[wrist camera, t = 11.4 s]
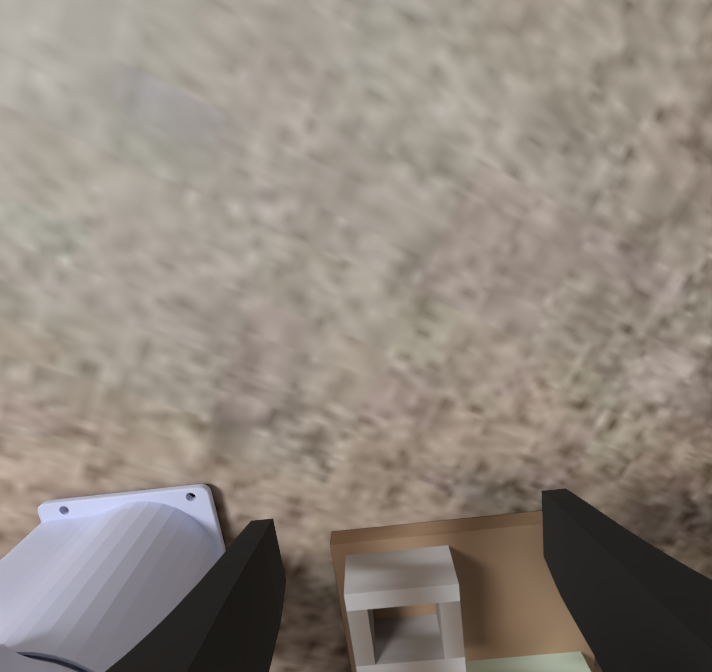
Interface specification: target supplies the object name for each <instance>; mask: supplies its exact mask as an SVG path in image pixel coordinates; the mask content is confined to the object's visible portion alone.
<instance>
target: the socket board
mask: <svg viewBox="0 0 712 672" xmlns="http://www.w3.org/2000/svg"><path fill="white" fill-rule="evenodd" d="M330 548H331V554H332V559H333V565H334V571H335V577H336V583H337V588H338V594H339V600H340V606H341V612H342V618H343V623H344V629H345V635H346V641H347V647H348V653H349V658H350V664H351V670H352V672H595V656H594V654H593V652H592V651H591V649H590V647H589V645H588V644H587V642H586V640H585V639H584V637H583V635H582V633H581V632H580V630H579V628H578V626H577V624H576V623H575V621H574V619H573V617H572V616H571V614H570V612H569V610H568V609H567V607H566V605H565V603H564V601H563V600H562V598H561V596H560V594H559V591H558V589H557V587H556V585H555V582H554V580H553V578H552V575H551V573H550V571H549V568H548V566H547V563H546V561H545V559H544V556H543V516H542V511H533V512H523V513H513V514H503V515H494V516H484V517H474V518H464V519H454V520H444V521H434V522H424V523H414V524H404V525H394V526H384V527H374V528H364V529H354V530H344V531H335V532H331V540H330Z"/></svg>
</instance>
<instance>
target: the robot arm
mask: <svg viewBox="0 0 712 672" xmlns="http://www.w3.org/2000/svg"><path fill="white" fill-rule="evenodd" d="M189 493H193V494H194V495H195V496H196V497H192V496H191V495H190V494H189ZM65 507H67V508H68V509H69V510H68V509H66V508H65ZM38 514H39V517H40V519H41V522H42V523H40V524H39V525H38V526H37V527H36V528H35V529H34V530H33V531H32V532H31V533H30V534H28V535H27V536H26V537H25V538H24V539H23V540H22V541H21V542H20V543H19V544H18V545H17V546H15V547H14V548H13V549H12V550H11V551H10V552H9V553H8V554H7V555H6V556H5V557H3V558H2V559H1V560H0V672H269V669H270V665H271V661H272V657H273V653H274V648H275V644H276V640H277V636H278V631H279V627H280V623H281V616H282V609H283V601H284V592H285V584H286V579H285V574H284V569H283V564H282V560H281V555H280V550H279V545H278V540H277V536H276V531H275V526H274V521H273V519H265V520H255V521H251V522H250V523H249V524H248V525H247V526H246V527H245V529H244V530H243V531H242V532H241V533H240V534H239V536H238V537H237V538H236V539H235V540H234V542H233V543H232V544H231V545H230V546H229V548H228V549H227V550H226V549H225V545H224V541H223V537H222V533H221V528H220V524H219V520H218V516H217V512H216V508H215V504H214V500H213V496H212V492H211V489H210V488H209V487H208V486H207V485H205V484H195V485H186V486H177V487H167V488H158V489H149V490H139V491H130V492H121V493H112V494H102V495H93V496H84V497H74V498H65V499H56V500H48V501H45V502H44V503H42V504H41V505H40V506H39V507H38ZM542 516H543V556H544V559H545V561H546V563H547V566H548V568H549V571H550V573H551V575H552V578H553V580H554V582H555V585H556V587H557V589H558V591H559V594H560V596H561V598H562V600H563V601H564V603H565V605H566V607H567V609H568V610H569V612H570V614H571V616H572V617H573V619H574V621H575V623H576V624H577V626H578V628H579V630H580V632H581V633H582V635H583V637H584V639H585V640H586V642H587V644H588V645H589V647H590V649H591V651H592V652H593V654H594V656H595V658H596V659H597V661H598V663H599V665H600V666H601V668H602V670H603V672H712V580H711V579H709V578H707V577H705V576H703V575H702V574H700V573H698V572H696V571H694V570H693V569H691V568H689V567H687V566H686V565H684V564H682V563H680V562H679V561H677V560H675V559H674V558H672V557H670V556H669V555H667V554H665V553H663V552H662V551H660V550H659V549H657V548H655V547H654V546H652V545H650V544H649V543H647V542H646V541H644V540H642V539H641V538H639V537H638V536H636V535H635V534H633V533H632V532H630V531H628V530H627V529H625V528H624V527H622V526H621V525H619V524H618V523H616V522H615V521H613V520H612V519H610V518H609V517H607V516H606V515H604V514H603V513H601V512H600V511H598V510H597V509H595V508H594V507H593V506H591V505H590V504H588V503H587V502H585V501H584V500H582V499H581V498H579V497H578V496H576V495H575V494H573V493H572V492H570V491H569V490H567V489H557V490H547V491H542Z"/></svg>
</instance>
